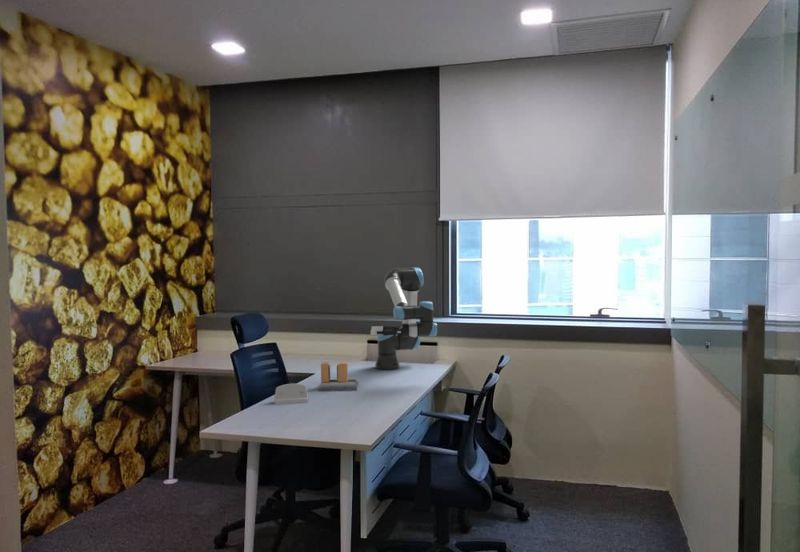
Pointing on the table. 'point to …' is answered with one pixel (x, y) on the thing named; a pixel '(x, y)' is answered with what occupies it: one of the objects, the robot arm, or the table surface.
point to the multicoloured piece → (334, 381)
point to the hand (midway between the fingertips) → (371, 330)
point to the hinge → (291, 394)
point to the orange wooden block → (342, 371)
